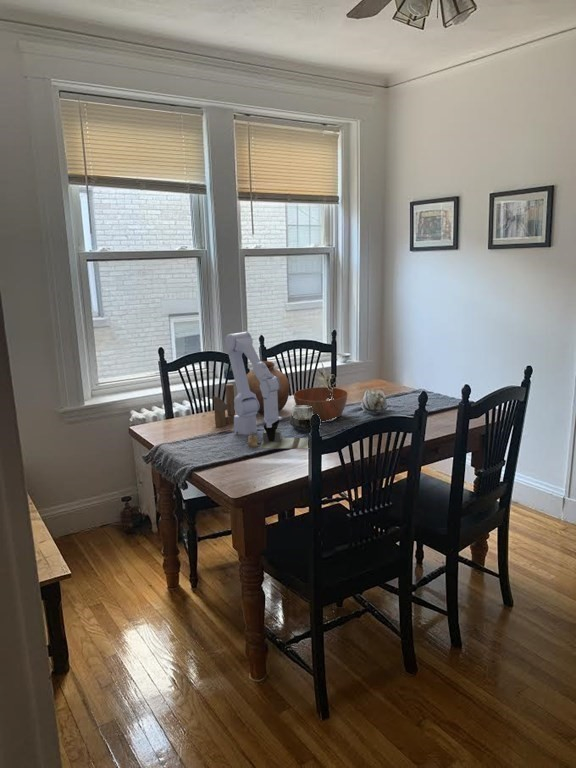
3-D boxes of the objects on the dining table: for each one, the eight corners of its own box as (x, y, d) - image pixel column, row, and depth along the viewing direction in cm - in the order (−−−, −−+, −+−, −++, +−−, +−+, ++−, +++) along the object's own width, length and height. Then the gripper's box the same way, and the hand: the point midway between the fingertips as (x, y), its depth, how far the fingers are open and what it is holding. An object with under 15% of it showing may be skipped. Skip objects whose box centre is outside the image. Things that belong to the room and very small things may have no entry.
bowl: (351, 410, 274) (350, 387, 271) (344, 427, 250) (344, 401, 247) (300, 409, 279) (299, 386, 277) (289, 425, 256) (288, 400, 253)
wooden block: (215, 426, 258) (212, 387, 254) (232, 420, 266) (229, 382, 262) (220, 427, 256) (218, 389, 252) (237, 421, 264) (235, 383, 260)
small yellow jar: (248, 450, 227) (247, 433, 225) (249, 446, 230) (248, 430, 228) (257, 450, 226) (256, 433, 225) (258, 446, 230) (257, 430, 228)
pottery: (267, 403, 292) (264, 355, 286) (300, 411, 276) (298, 360, 270) (233, 413, 276) (230, 363, 270) (266, 422, 260) (263, 369, 254)
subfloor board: (259, 451, 225) (259, 448, 225) (264, 440, 237) (263, 438, 236) (309, 451, 223) (309, 448, 222) (312, 440, 234) (311, 438, 234)
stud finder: (263, 442, 231) (262, 431, 230) (264, 438, 236) (264, 428, 235) (280, 442, 231) (279, 431, 229) (281, 438, 235) (281, 428, 234)
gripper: (278, 412, 222) (279, 445, 225) (282, 402, 236) (284, 433, 239) (260, 412, 223) (262, 445, 226) (266, 402, 237) (267, 433, 240)
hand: (272, 438), depth 233 cm, fingers closed on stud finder, 4 cm apart
